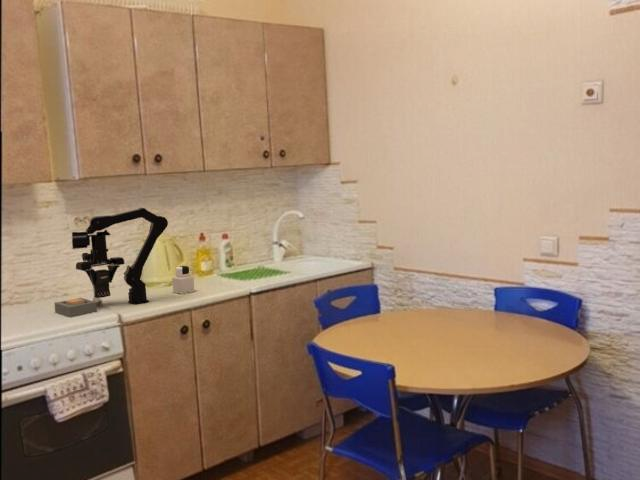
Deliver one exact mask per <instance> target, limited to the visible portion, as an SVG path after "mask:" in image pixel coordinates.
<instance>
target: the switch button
mask: <svg viewBox="0 0 640 480" xmlns="http://www.w3.org/2000/svg"><path fill="white" fill-rule="evenodd" d="M65 301H66V304H68V305H72V306H73V305H78V304H83V303H85V301H84V300H82V299H77V298H73V299H67V300H65Z"/></svg>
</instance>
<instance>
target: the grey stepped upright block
mask: <svg viewBox="0 0 640 480" xmlns="http://www.w3.org/2000/svg"><path fill="white" fill-rule="evenodd" d="M174 271H175V276H172V278H171V280H172V281H171V282H172V293H173V292H174V294H178V293H179V294H178V295H185V294H184V293H186V294H189V293H188V292H191V293H194V292H195V283H194V282H195V280H194V278H195V277H194V276H191V275H190V267H189V266H188V265H179V266H177V267H175V270H174Z"/></svg>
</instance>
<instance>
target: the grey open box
mask: <svg viewBox="0 0 640 480" xmlns="http://www.w3.org/2000/svg"><path fill="white" fill-rule="evenodd" d="M76 299H82V300H84V301H85V303H83V304H78V305H73V306H72V305H68V304H66V301H67V300H62V301H57V302H54V303H53V304H54V313H57V314H58V315H62V316H65V317H69V318H73V317H78V316H79V317H80V316H83V314H84V315H87V313H89V314H93V313H92V312H94V313H97V312H98V308H97V307H98V305H97V301H94V300H89V299H86V298H82V297H78V298H76Z"/></svg>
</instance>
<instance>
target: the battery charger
mask: <svg viewBox="0 0 640 480" xmlns="http://www.w3.org/2000/svg"><path fill="white" fill-rule="evenodd" d="M110 282H111V276H110V272H109V270H108V269H106V268H105V269H96V270H95V285H92V288H93V298H94V299H101V298H108V297H110V296H111V291H110ZM111 283H112V282H111Z"/></svg>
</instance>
